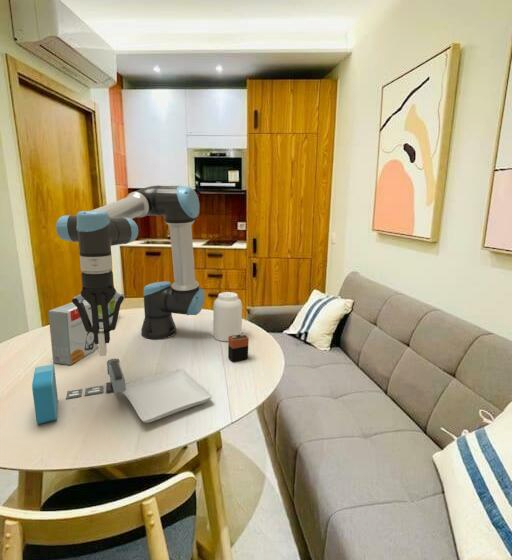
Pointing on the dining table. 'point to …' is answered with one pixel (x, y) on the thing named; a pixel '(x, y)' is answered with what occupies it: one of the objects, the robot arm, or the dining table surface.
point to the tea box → (110, 311)
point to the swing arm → (116, 375)
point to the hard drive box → (70, 334)
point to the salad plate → (165, 394)
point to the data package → (45, 394)
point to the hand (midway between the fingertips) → (103, 353)
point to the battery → (238, 347)
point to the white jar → (227, 316)
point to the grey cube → (109, 387)
